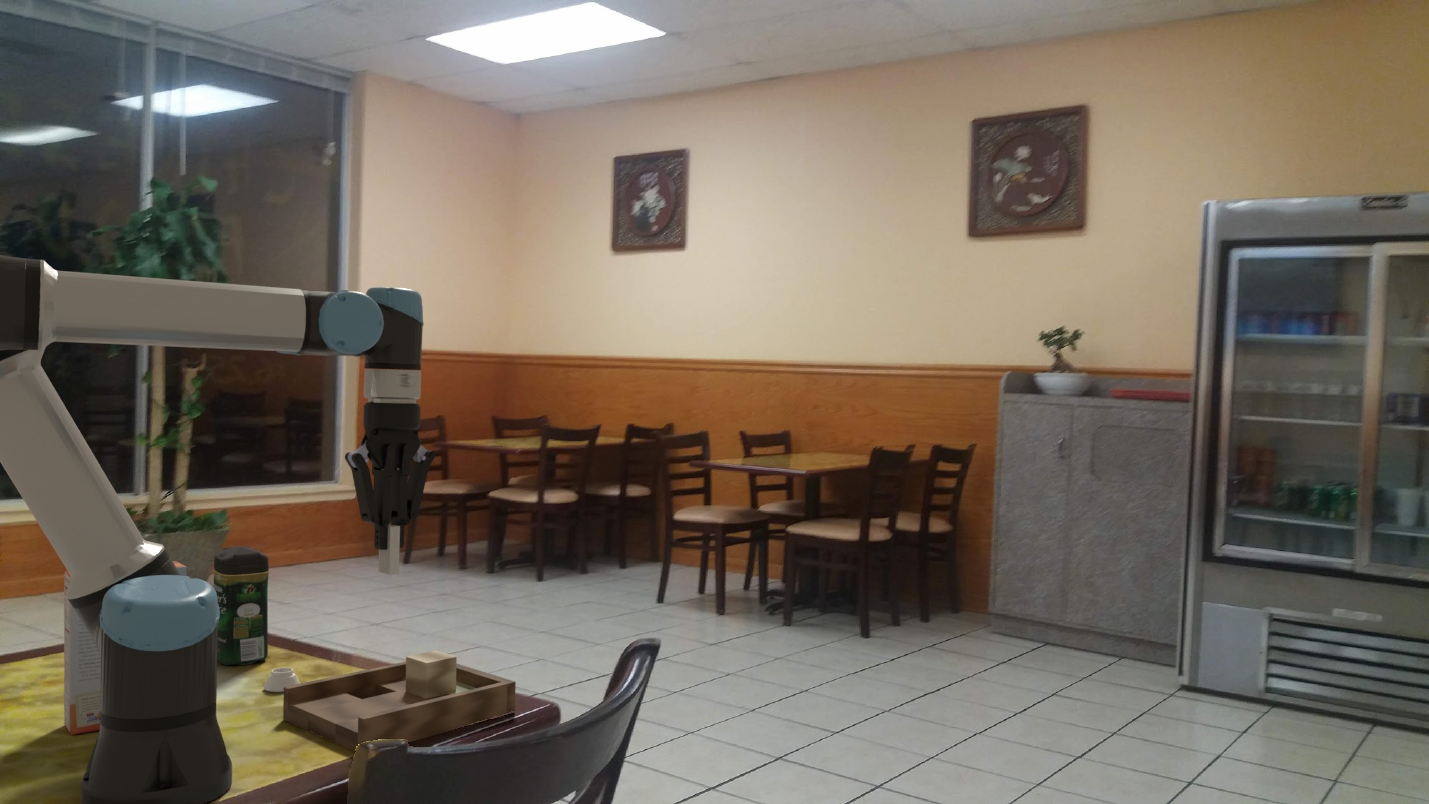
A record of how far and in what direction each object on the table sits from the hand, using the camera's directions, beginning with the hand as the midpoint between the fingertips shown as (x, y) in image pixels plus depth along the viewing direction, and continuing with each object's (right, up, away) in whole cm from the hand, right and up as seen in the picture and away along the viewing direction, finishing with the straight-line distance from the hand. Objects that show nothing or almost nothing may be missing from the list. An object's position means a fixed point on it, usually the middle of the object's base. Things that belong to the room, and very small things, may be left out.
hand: (388, 572), depth 148 cm
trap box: (0, -20, +1) cm, 20 cm away
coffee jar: (-34, -19, +30) cm, 49 cm away
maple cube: (+4, -18, +6) cm, 19 cm away
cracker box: (-35, -20, -3) cm, 40 cm away
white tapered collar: (-20, -20, +14) cm, 32 cm away
